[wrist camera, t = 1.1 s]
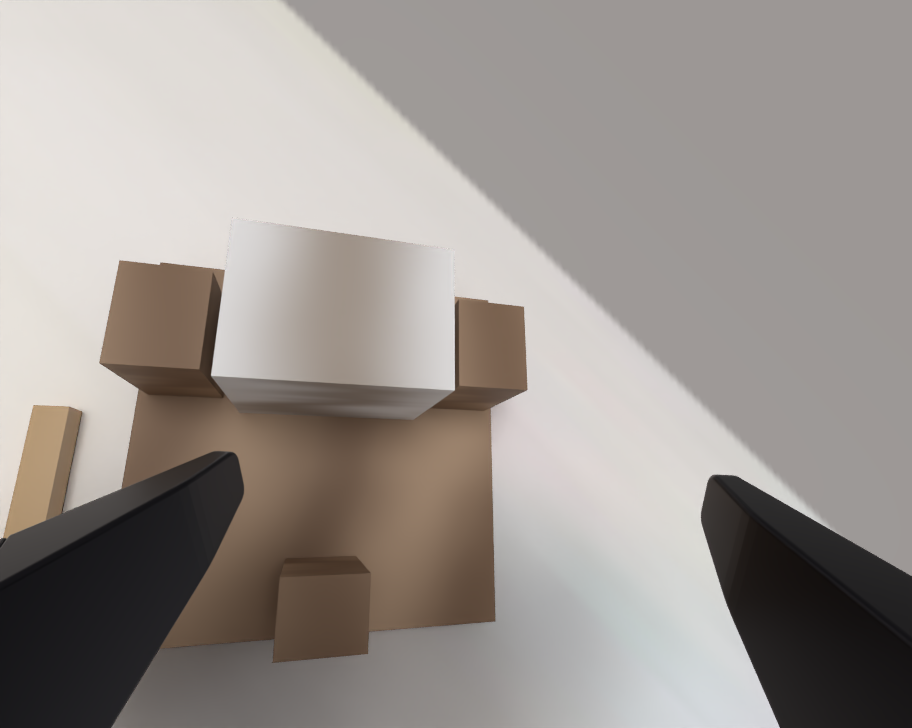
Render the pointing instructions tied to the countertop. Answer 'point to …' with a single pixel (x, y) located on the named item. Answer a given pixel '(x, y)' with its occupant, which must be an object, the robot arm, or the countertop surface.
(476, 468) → the display stand
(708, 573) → the countertop surface
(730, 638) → the countertop surface
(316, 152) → the countertop surface
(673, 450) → the countertop surface
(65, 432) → the wooden c-shaped bracket
